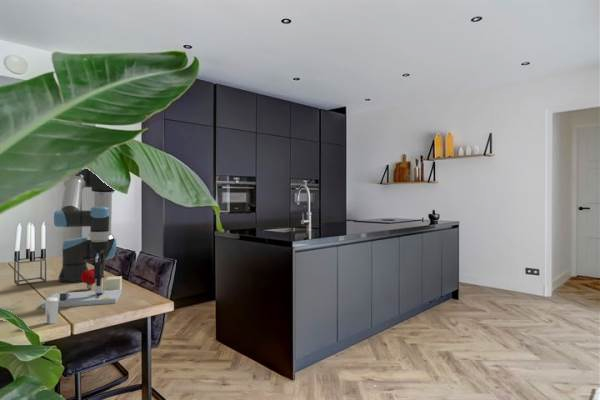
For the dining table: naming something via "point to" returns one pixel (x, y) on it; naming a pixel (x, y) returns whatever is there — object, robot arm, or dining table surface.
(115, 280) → the cap
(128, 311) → the dining table surface
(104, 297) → the panel
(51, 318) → the milkshake
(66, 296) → the breaker
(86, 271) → the light bulb
